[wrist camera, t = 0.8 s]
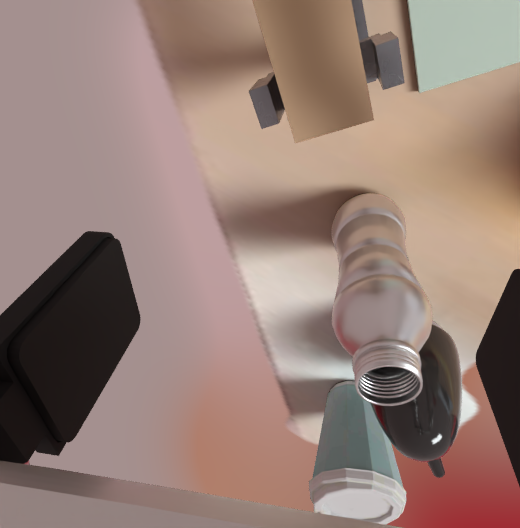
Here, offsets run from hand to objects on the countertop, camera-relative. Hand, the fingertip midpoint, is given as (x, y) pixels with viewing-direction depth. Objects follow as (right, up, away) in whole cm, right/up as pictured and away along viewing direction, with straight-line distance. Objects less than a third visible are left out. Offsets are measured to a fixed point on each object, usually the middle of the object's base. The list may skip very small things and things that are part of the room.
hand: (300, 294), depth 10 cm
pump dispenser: (+16, -7, +36) cm, 40 cm away
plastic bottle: (+9, +6, +28) cm, 30 cm away
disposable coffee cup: (+12, -17, +44) cm, 49 cm away
